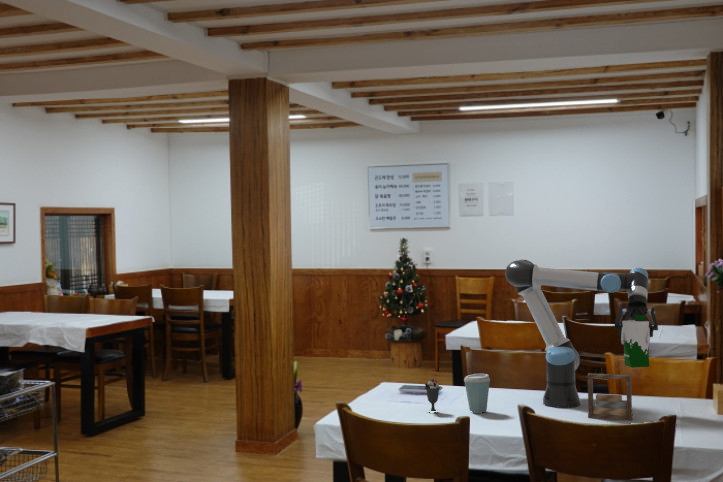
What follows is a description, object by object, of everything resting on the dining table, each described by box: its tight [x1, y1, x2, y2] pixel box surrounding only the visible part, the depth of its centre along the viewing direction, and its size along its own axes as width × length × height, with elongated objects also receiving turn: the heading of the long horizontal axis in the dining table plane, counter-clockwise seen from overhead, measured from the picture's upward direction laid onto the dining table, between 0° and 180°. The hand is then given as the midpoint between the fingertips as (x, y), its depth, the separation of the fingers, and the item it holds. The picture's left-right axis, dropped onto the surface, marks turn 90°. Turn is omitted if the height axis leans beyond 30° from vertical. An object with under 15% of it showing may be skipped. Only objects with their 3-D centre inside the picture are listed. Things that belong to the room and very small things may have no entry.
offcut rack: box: [587, 372, 634, 422], centre depth 295 cm, size 16×6×17 cm, turn 66°
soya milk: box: [621, 315, 650, 369], centre depth 305 cm, size 9×9×20 cm
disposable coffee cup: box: [463, 373, 491, 414], centre depth 311 cm, size 11×11×15 cm
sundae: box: [424, 374, 441, 411], centre depth 312 cm, size 7×7×15 cm
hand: (635, 342), depth 303 cm, fingers closed on soya milk, 9 cm apart
